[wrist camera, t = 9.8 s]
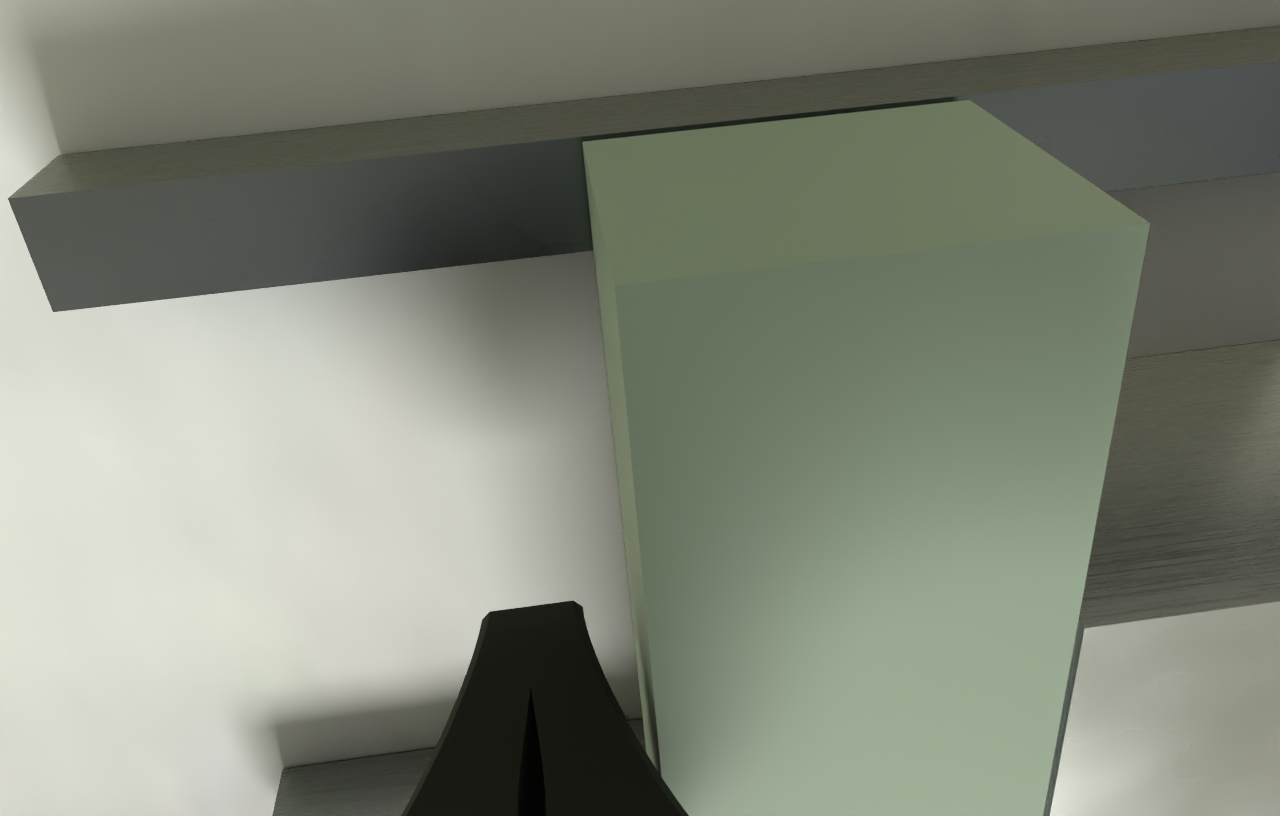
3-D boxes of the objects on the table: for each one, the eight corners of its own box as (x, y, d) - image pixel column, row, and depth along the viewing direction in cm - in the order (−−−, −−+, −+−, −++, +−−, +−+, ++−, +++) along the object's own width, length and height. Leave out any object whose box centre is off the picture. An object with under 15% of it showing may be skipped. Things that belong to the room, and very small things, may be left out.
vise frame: (1668, -16, 14) (2159, 71, 10) (1397, 664, 21) (1628, 891, 17) (59, 154, 13) (-153, 334, 9) (301, 820, 20) (245, 1109, 15)
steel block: (1288, 339, 17) (1598, 557, 12) (1235, 539, 19) (1481, 794, 14) (916, 385, 16) (1084, 628, 12) (903, 584, 18) (1041, 860, 14)
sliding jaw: (951, 69, 14) (1184, 218, 9) (900, 752, 20) (1021, 1044, 15) (574, 108, 13) (615, 285, 9) (647, 789, 20) (692, 1098, 15)
